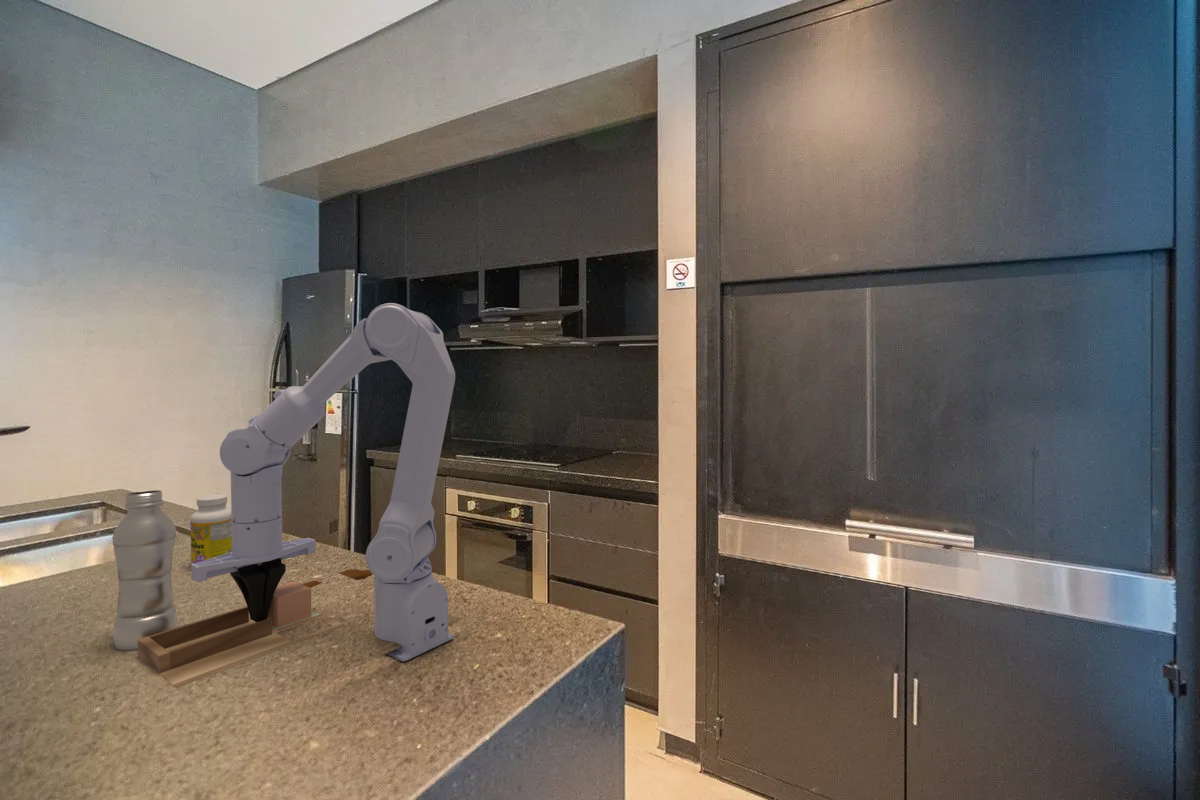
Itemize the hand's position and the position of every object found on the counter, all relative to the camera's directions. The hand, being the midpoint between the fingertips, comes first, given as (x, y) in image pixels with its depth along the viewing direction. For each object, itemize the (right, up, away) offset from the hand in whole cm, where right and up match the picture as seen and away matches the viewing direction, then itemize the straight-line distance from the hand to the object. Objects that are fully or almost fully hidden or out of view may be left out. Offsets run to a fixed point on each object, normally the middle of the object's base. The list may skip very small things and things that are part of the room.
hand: (258, 619), depth 75 cm
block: (+2, -1, +3) cm, 4 cm away
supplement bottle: (-27, -2, +30) cm, 40 cm away
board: (+1, -3, -3) cm, 4 cm away
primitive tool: (-1, -3, +18) cm, 19 cm away
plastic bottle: (-12, -3, -3) cm, 13 cm away
